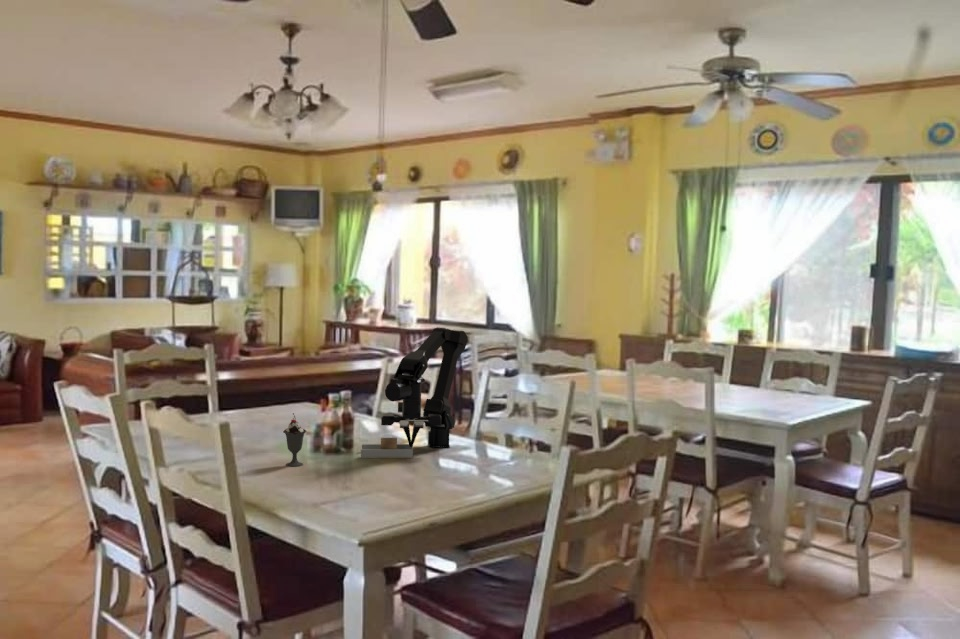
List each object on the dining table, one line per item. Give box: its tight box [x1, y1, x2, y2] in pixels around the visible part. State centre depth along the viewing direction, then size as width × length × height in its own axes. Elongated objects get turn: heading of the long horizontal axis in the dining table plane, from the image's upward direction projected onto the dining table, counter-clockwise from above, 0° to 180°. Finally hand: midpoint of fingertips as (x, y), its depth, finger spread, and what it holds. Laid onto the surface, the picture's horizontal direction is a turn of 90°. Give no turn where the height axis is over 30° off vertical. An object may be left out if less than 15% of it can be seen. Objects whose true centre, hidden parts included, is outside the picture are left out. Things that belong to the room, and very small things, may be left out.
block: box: [380, 437, 398, 449], centre depth 265 cm, size 5×5×5 cm
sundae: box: [283, 413, 307, 468], centre depth 249 cm, size 7×7×15 cm
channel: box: [360, 443, 414, 459], centre depth 265 cm, size 16×8×2 cm, turn 96°
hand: (411, 446), depth 265 cm, fingers closed
